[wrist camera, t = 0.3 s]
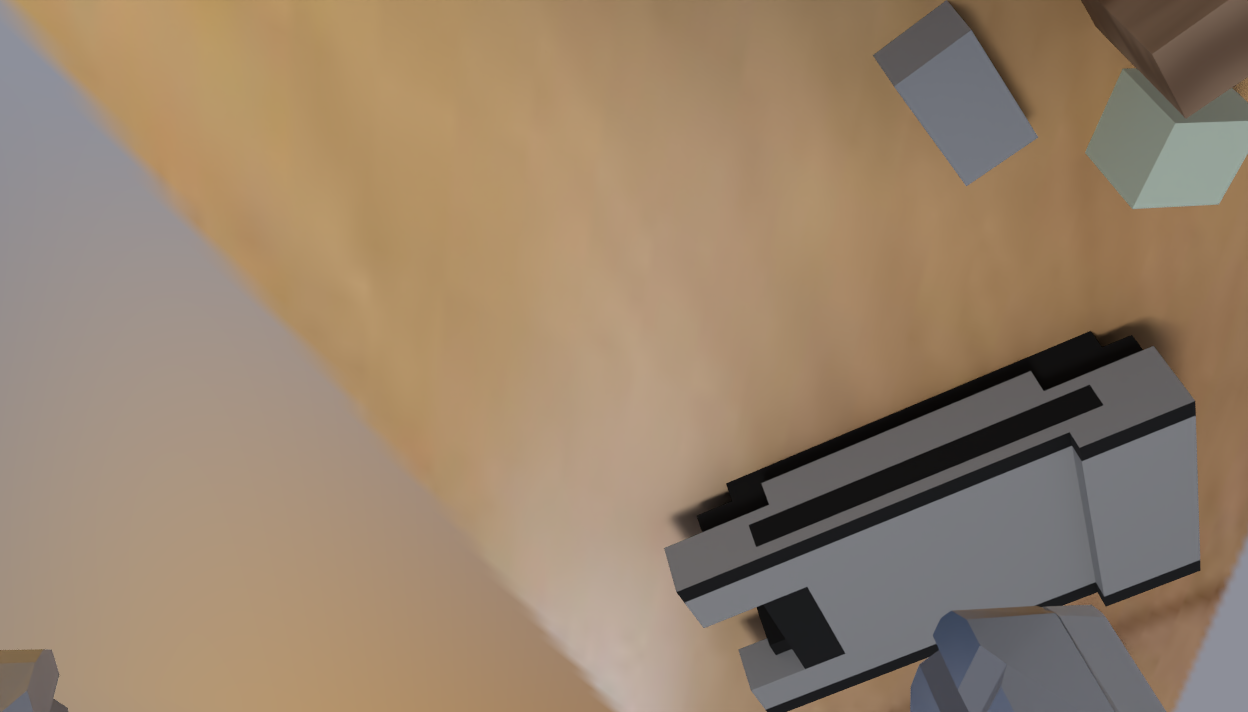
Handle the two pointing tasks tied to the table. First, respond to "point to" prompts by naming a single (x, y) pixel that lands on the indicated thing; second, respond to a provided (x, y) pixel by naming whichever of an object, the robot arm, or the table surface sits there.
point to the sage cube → (1168, 145)
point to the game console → (953, 517)
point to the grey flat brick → (956, 93)
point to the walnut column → (1179, 44)
